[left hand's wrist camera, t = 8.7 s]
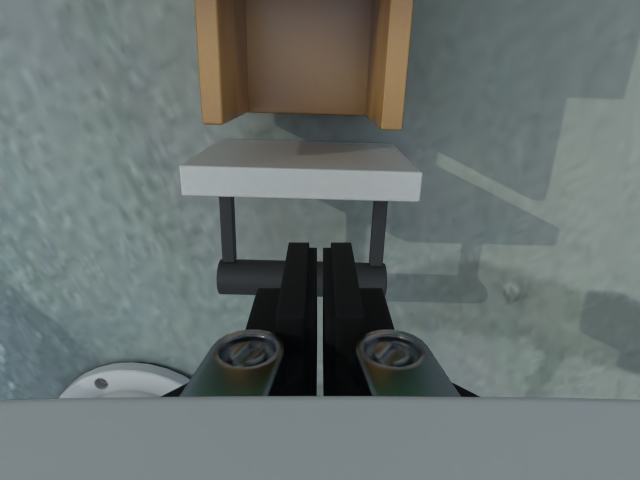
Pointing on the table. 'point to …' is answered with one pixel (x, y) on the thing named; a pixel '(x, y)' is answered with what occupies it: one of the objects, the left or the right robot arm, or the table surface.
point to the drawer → (302, 98)
